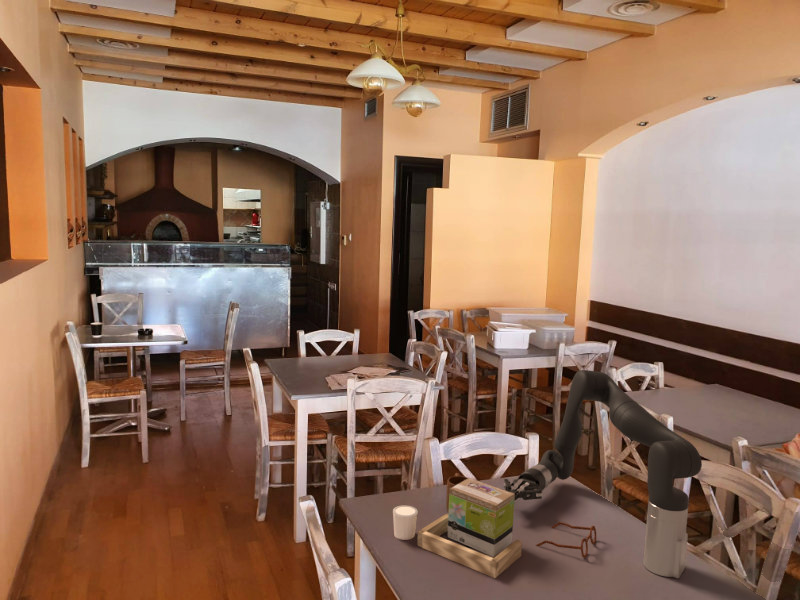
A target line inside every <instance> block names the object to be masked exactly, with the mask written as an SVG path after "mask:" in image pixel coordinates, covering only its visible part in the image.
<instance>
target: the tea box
mask: <svg viewBox="0 0 800 600" xmlns="http://www.w3.org/2000/svg"><path fill="white" fill-rule="evenodd" d="M467 478H468V479H466V480H464V481H463V482H461V483H459V484H457V485H456V486H454V487H452V488H450V494H449V512H448V513H447V514H448V531H447V539H451V540H453V541H456V542H459V543H461V544H463V545H465V546H468V547H470V548H471V549H473V550H475V551H477V552H480V553H482V554H484V555H487V556H489V557H492V558H494V557H496V556H497V555H498V554H499V553H501V552H502V551H503V550H504V549H506V548H507V547H508V546H509V545H510V544H512V543H513V541H512V540H513V528H514V515H515V514H514V513H515V512H514V511H515V510H514V509H515V501H514V499H515V494H514V493H511V492H508V491H505V489H501V488H500V487H497V486H493V485H491V484H488V483H485V482H482V481H479V480H476V479H473V478H471V477H467Z"/></svg>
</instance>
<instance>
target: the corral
mask: <svg viewBox="0 0 800 600" xmlns="http://www.w3.org/2000/svg"><path fill="white" fill-rule="evenodd" d="M446 532H448V513H445V514H444V515H442V516H440V517H439V518H437V519H436V520H434V521H432V522H431V523H429V524H428V525H426V526H425V527H423V528H421V529H420V530H418V531H417V542H416V544H417V547H420V548H421V549H424V550H426V551H429V552H432V553H434V554H436V555H439V556H440V557H443V558H446V559H448V560H450V561H453V562H456V563H458V564H459V565H460V564H461V565H462V566H465V567H466V568H468V569H469V568H470V569H472V570H475V571H477V572H478V573H481V574H484V575H487V576H489V577H491V578H494V579H496V578H498V576H499V575H501V574H502V573H503V572H504V571H505V570H507V569H508V568H509V567H510V566H511V565H512V564H514V563H515V562H516V561H517V560H518V559H519V558H520V557H522V547H523V541H522V540H520V539H516V540H514V541H512V543H511V544H510V545H509V546H507V547H506V548H505V549H503V550H502V551H501V552H499V553H498V554H497V555H495V556H494V557H491V556H489V555H487V554H485V553H483V552H480V551H478V550H475V549H473V548H468V547H466V546H464V545H461V544H459V543H457V542H454V541H451V540H449V539H446V538H443V537H441V536H443V534H445V533H446Z"/></svg>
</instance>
